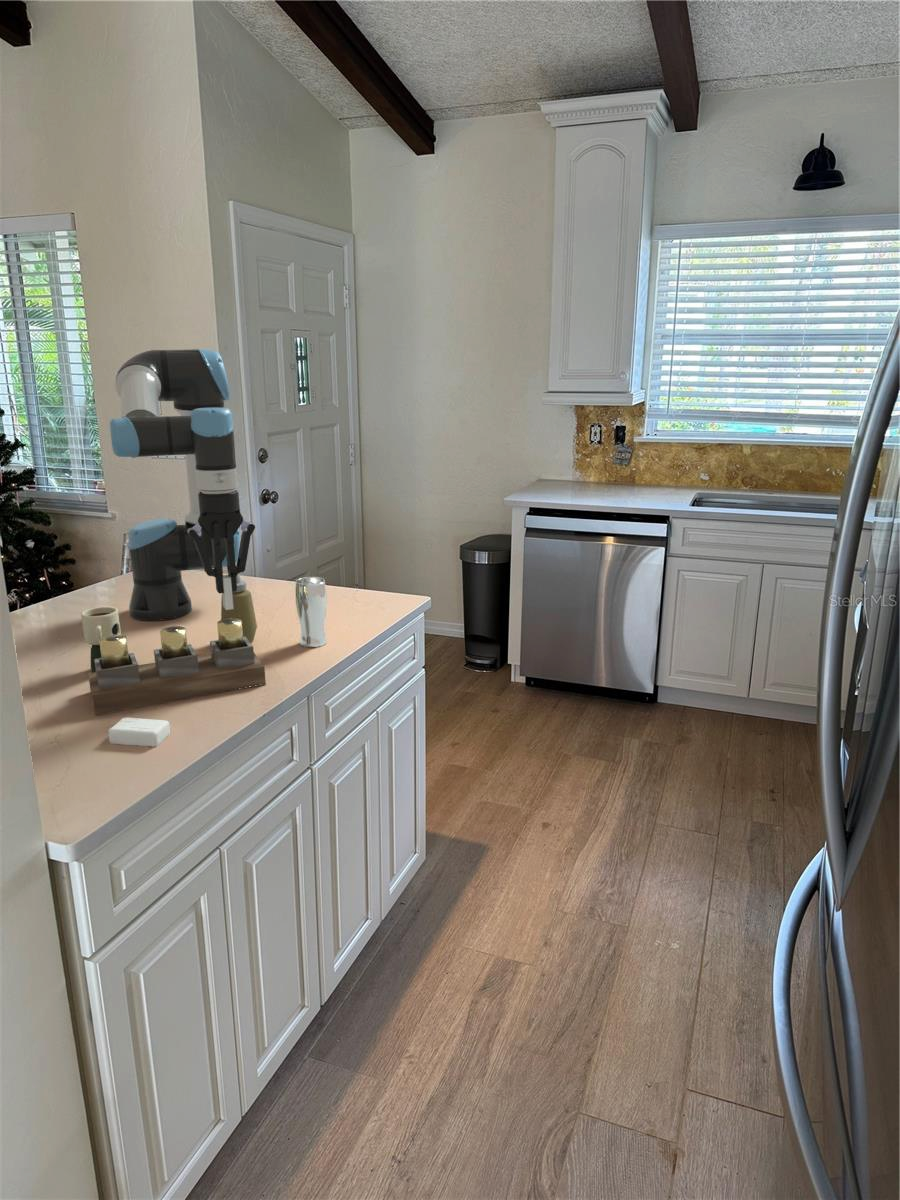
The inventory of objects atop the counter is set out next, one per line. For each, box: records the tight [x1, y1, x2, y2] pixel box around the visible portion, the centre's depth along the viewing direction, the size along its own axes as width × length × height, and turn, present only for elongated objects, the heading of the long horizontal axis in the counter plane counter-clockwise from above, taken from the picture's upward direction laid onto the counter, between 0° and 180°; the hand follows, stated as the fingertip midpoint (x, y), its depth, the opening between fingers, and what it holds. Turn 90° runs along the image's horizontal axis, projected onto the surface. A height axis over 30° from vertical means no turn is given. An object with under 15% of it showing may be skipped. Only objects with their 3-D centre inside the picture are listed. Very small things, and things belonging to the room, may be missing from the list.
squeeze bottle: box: [220, 573, 258, 644], centre depth 188 cm, size 8×8×18 cm
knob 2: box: [216, 618, 244, 650], centre depth 167 cm, size 5×5×5 cm
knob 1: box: [99, 634, 129, 668], centre depth 158 cm, size 5×5×5 cm
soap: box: [107, 717, 171, 748], centre depth 144 cm, size 9×6×3 cm, turn 81°
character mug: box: [80, 606, 122, 672], centre depth 173 cm, size 11×7×13 cm, turn 16°
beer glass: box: [294, 576, 328, 648], centre depth 188 cm, size 7×7×15 cm
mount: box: [87, 636, 267, 716], centre depth 164 cm, size 12×32×8 cm, turn 116°
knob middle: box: [159, 625, 188, 659], centre depth 162 cm, size 5×5×5 cm
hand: (228, 607), depth 165 cm, fingers closed
